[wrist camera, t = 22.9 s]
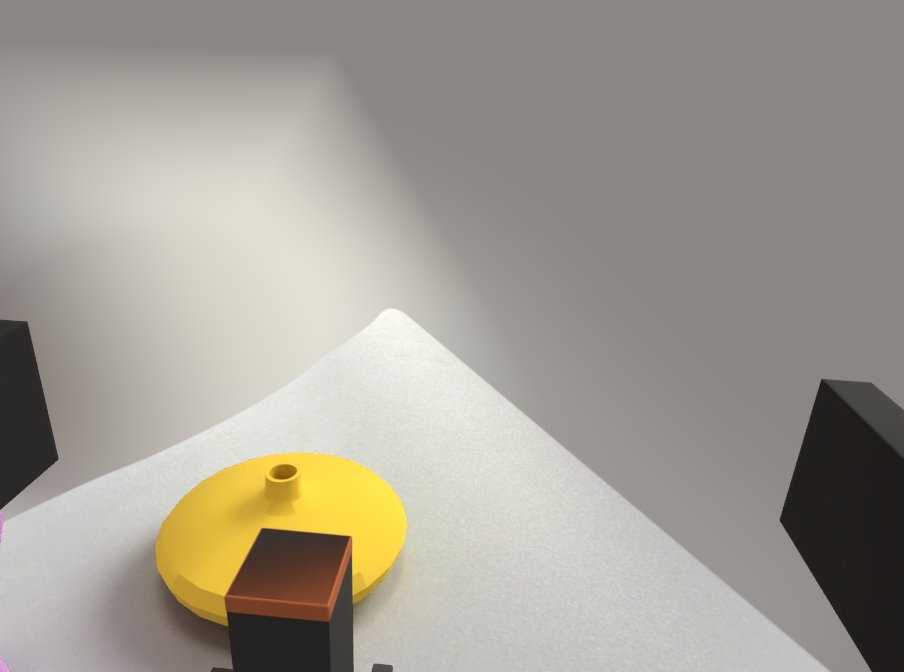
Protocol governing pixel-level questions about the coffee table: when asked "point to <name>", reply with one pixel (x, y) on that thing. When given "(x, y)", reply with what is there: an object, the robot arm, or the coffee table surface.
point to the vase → (276, 523)
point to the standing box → (293, 604)
